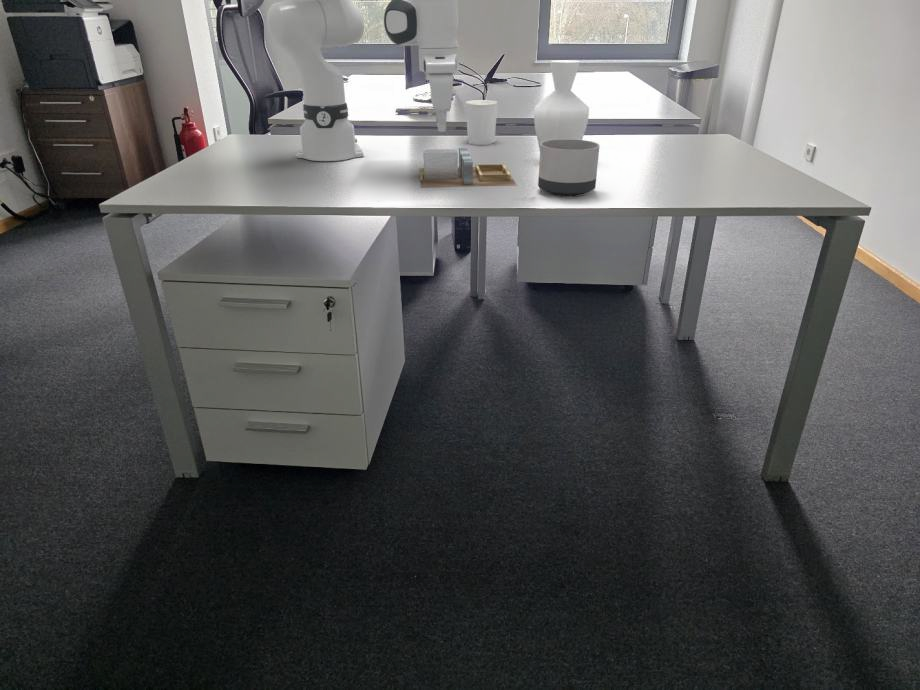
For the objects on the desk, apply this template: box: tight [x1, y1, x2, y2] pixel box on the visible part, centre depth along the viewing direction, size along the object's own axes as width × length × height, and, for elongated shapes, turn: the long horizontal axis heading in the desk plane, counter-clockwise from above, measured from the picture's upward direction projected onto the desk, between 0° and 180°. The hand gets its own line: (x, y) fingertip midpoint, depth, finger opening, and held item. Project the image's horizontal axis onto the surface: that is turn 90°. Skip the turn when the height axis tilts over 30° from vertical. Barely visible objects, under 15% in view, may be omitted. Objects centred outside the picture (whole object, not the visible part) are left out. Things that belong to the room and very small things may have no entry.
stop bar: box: [422, 148, 459, 179], centre depth 146 cm, size 4×8×6 cm, turn 94°
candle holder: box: [465, 99, 499, 146], centre depth 190 cm, size 10×10×12 cm
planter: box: [537, 139, 601, 198], centre depth 137 cm, size 13×13×10 cm
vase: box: [533, 59, 590, 151], centre depth 162 cm, size 14×14×25 cm
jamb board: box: [419, 147, 518, 188], centre depth 147 cm, size 20×22×6 cm
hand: (440, 128), depth 142 cm, fingers open, 8 cm apart
